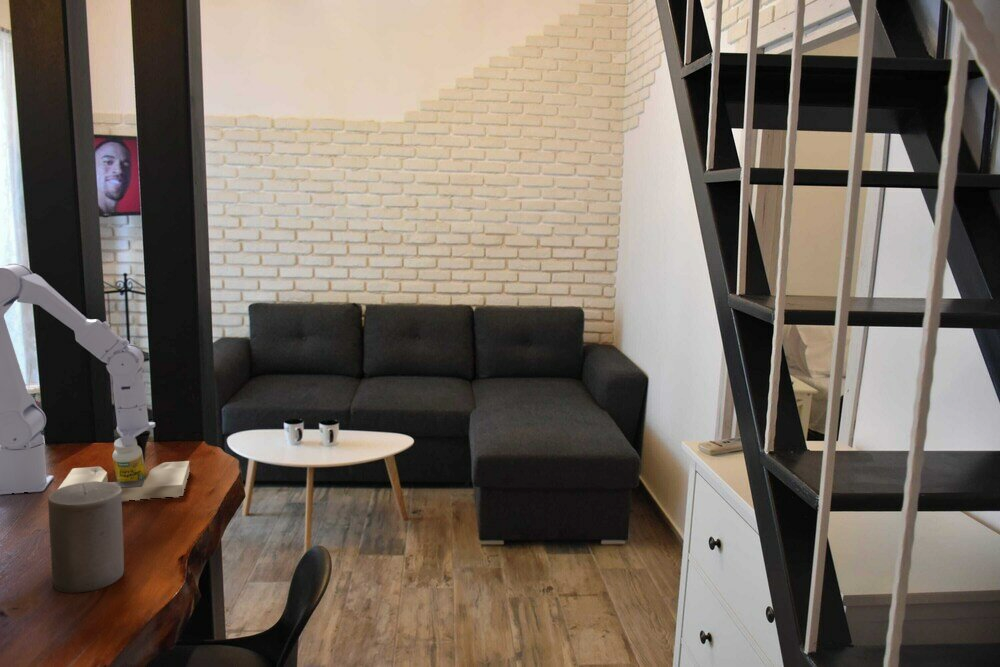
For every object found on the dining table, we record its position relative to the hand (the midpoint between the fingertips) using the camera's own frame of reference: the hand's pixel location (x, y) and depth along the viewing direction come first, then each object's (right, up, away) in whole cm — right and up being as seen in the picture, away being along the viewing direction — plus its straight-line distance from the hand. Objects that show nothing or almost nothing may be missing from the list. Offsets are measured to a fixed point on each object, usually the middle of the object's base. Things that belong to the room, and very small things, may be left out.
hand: (138, 467), depth 149 cm
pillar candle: (+12, -10, -39) cm, 42 cm away
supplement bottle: (0, -2, -2) cm, 3 cm away
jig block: (0, -3, -5) cm, 6 cm away
